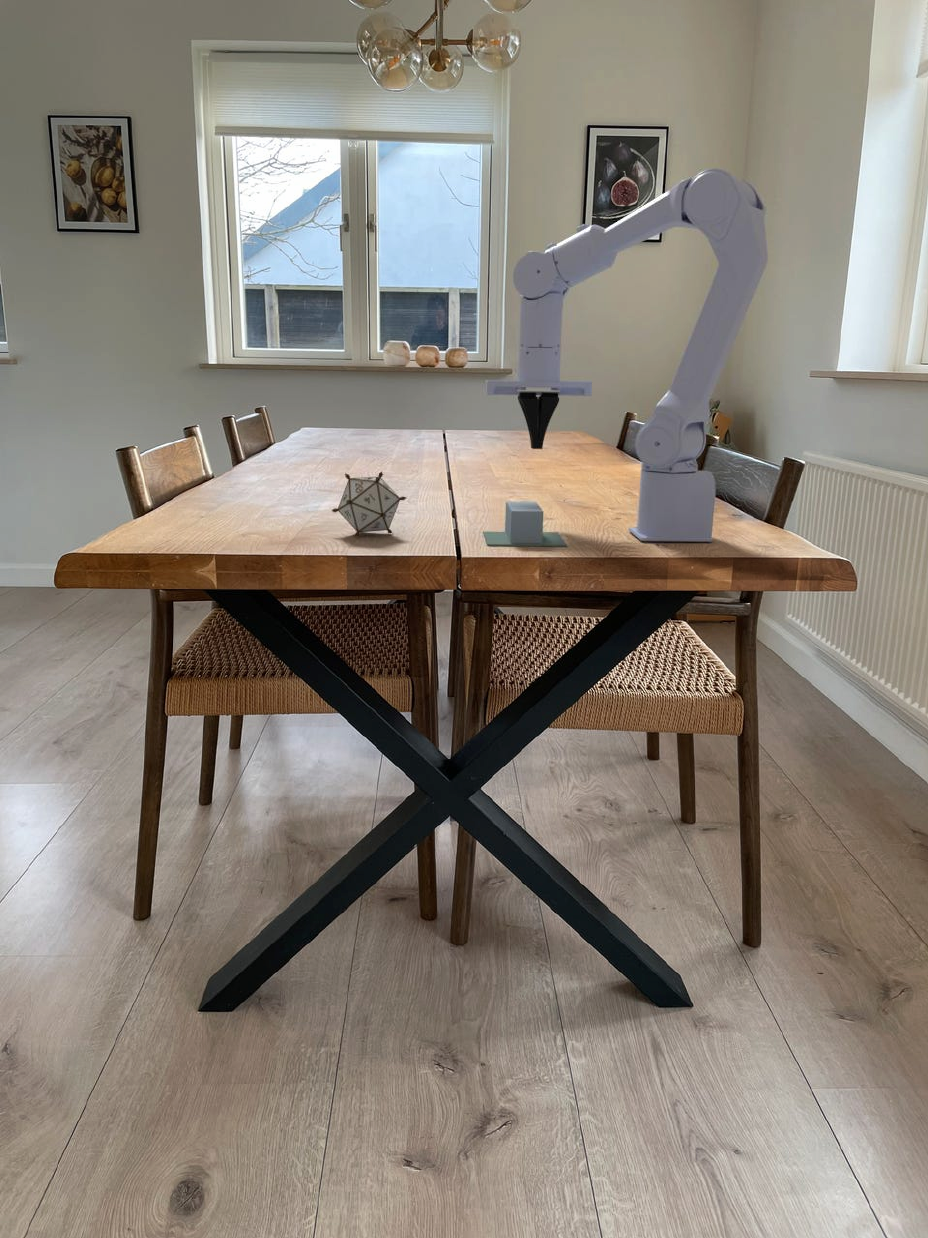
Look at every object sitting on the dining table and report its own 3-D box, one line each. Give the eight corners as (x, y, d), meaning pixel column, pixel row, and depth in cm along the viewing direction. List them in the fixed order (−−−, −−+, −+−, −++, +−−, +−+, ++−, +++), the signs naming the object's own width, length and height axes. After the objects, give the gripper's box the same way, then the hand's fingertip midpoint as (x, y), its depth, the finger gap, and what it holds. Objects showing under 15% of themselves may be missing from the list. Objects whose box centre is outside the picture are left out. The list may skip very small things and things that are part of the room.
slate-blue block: (535, 501, 125) (543, 511, 118) (534, 531, 127) (542, 543, 119) (505, 501, 125) (511, 511, 118) (505, 531, 126) (510, 542, 119)
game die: (381, 564, 123) (402, 510, 116) (319, 540, 122) (336, 485, 115) (397, 521, 130) (418, 467, 122) (338, 498, 129) (356, 443, 121)
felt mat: (557, 533, 126) (557, 532, 126) (567, 546, 118) (567, 544, 118) (482, 532, 126) (482, 531, 126) (487, 545, 117) (487, 544, 117)
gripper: (587, 348, 133) (582, 446, 137) (484, 347, 133) (483, 445, 136) (596, 348, 127) (591, 450, 130) (488, 346, 126) (486, 449, 130)
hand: (536, 448), depth 133 cm, fingers closed
